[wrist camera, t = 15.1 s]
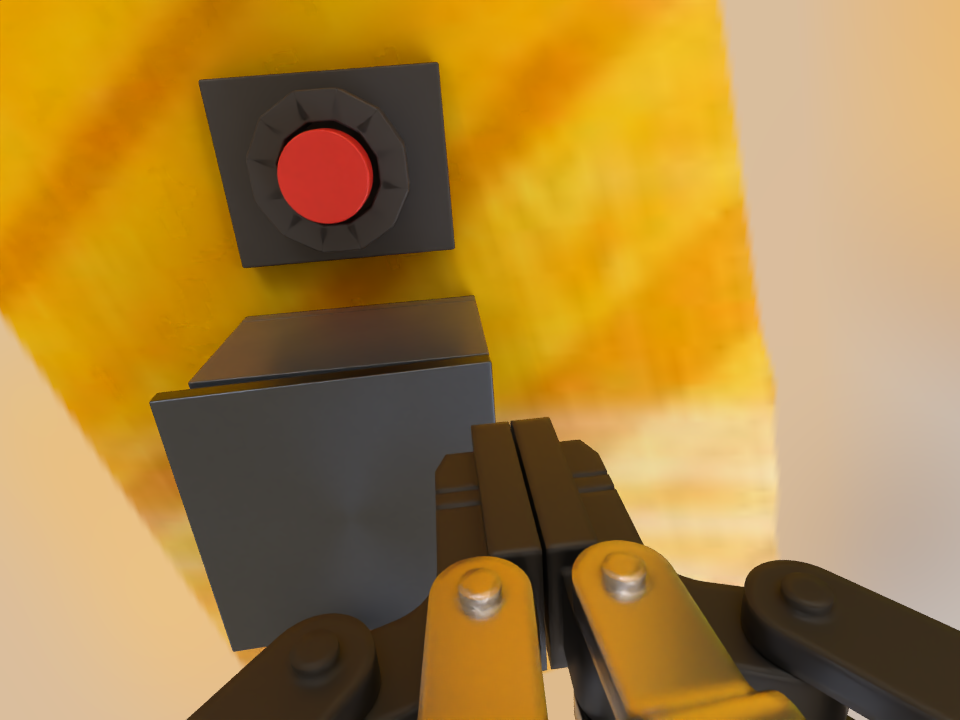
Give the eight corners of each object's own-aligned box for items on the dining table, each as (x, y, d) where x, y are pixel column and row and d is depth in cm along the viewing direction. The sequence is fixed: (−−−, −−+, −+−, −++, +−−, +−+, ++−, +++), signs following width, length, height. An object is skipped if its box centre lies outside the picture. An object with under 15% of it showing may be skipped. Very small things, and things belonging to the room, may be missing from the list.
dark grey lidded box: (295, 517, 34) (260, 624, 27) (245, 316, 29) (187, 382, 22) (490, 496, 35) (506, 595, 28) (474, 295, 30) (488, 352, 23)
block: (207, 81, 25) (180, 77, 22) (437, 63, 26) (439, 58, 23) (249, 262, 28) (230, 278, 26) (454, 244, 29) (457, 258, 26)
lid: (237, 638, 27) (232, 652, 26) (156, 392, 22) (148, 402, 21) (506, 596, 28) (508, 609, 27) (488, 353, 23) (491, 361, 22)
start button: (278, 131, 24) (267, 133, 22) (366, 124, 24) (362, 125, 22) (295, 220, 25) (286, 228, 24) (379, 213, 25) (375, 220, 24)
